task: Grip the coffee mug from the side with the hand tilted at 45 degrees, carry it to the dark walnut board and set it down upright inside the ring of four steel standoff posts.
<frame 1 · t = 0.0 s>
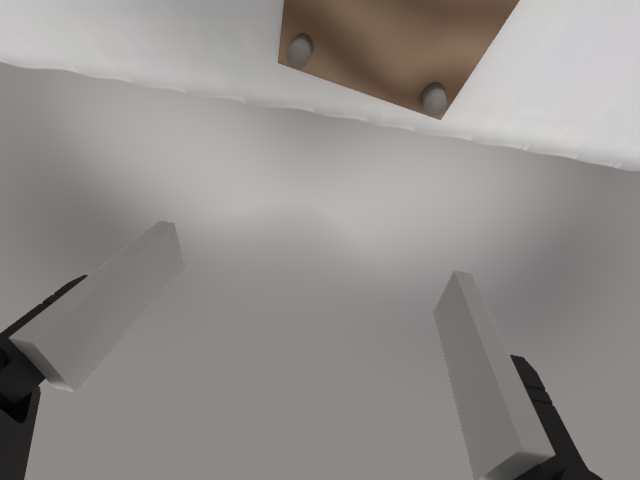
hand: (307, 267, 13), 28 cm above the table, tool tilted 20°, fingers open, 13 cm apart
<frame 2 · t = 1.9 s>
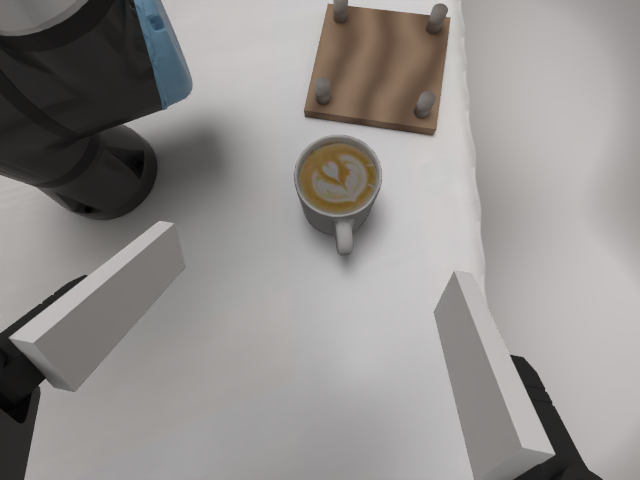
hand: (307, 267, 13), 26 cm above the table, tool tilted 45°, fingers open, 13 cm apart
coffee mug: (335, 214, 40), on the table
standoff board: (377, 70, 44), on the table
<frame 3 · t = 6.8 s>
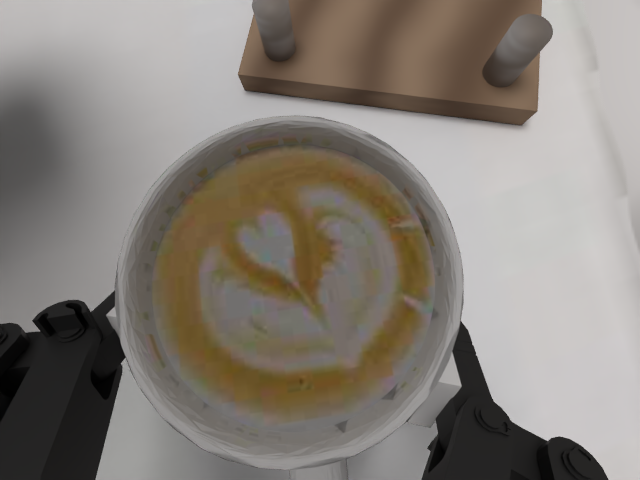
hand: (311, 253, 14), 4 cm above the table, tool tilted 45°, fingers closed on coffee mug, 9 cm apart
coffee mug: (308, 310, 17), on the table, touching gripper
when the fingers open (6 cm above the table, at t = 13.6 s): coffee mug stays where it is, resting on standoff board.
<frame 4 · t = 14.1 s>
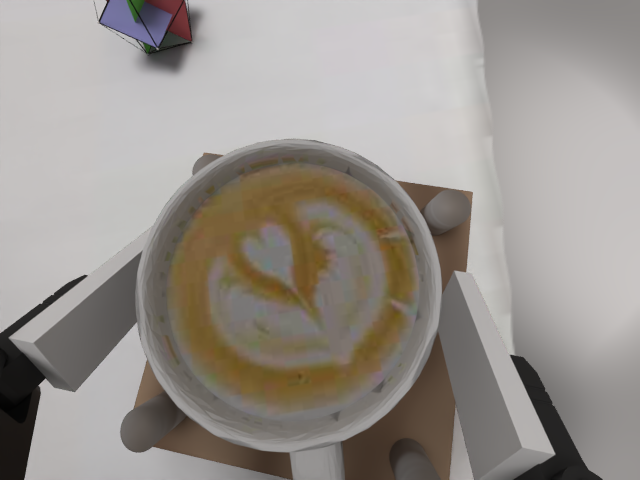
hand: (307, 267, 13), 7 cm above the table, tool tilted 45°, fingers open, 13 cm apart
coffee mug: (308, 311, 18), point 1 cm above the table, touching standoff board
geometric puzzle: (169, 40, 25), on the table
standoff board: (310, 307, 20), on the table
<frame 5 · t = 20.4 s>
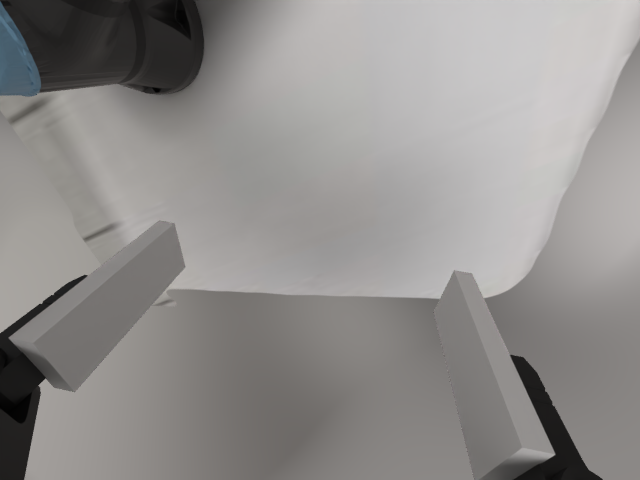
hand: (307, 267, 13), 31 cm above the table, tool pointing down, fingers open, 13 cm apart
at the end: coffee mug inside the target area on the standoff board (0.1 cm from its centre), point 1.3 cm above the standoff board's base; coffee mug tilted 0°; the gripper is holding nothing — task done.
